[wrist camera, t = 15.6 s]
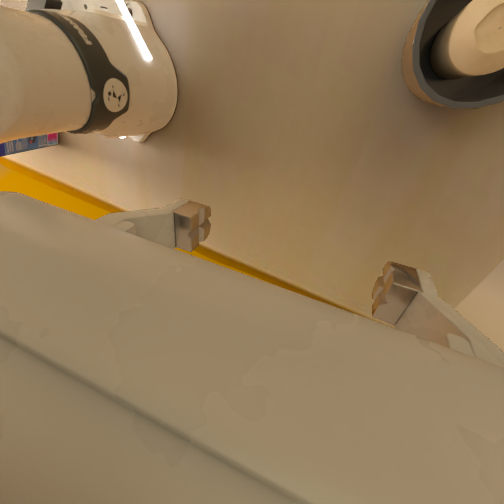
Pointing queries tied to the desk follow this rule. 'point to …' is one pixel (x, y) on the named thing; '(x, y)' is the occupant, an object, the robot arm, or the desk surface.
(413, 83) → the pen holder
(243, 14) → the desk surface
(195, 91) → the desk surface
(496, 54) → the candle
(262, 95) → the desk surface
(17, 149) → the ink cartridge box
